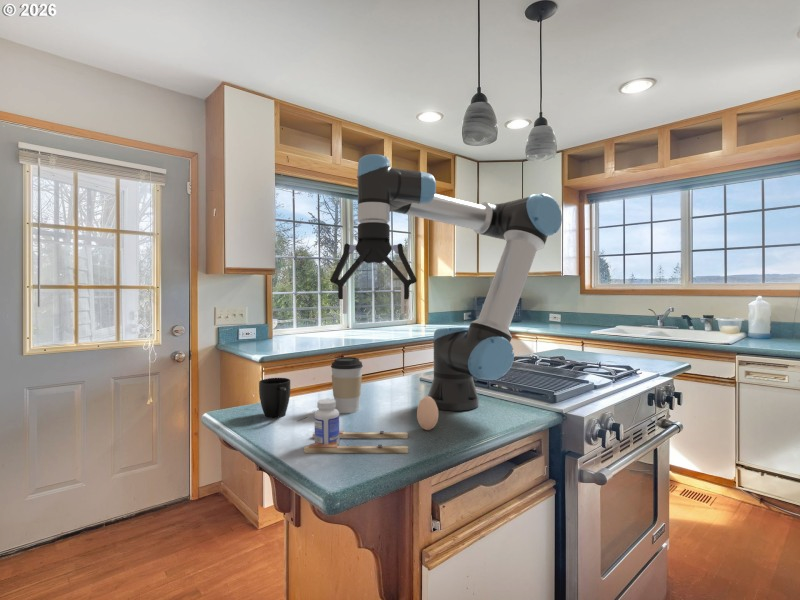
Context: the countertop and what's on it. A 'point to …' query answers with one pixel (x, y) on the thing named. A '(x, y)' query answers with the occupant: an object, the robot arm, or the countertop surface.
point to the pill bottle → (326, 423)
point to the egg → (427, 413)
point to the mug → (274, 396)
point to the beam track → (361, 448)
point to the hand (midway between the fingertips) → (373, 313)
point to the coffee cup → (347, 383)
